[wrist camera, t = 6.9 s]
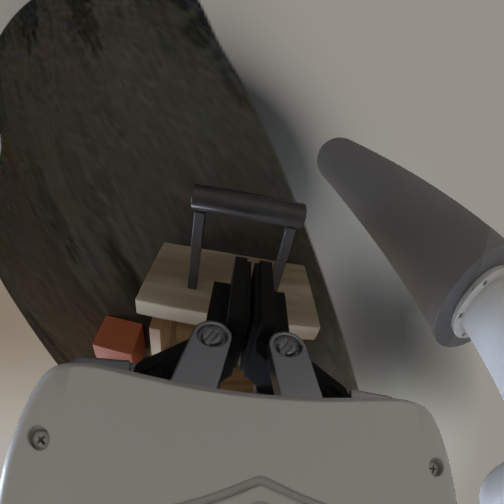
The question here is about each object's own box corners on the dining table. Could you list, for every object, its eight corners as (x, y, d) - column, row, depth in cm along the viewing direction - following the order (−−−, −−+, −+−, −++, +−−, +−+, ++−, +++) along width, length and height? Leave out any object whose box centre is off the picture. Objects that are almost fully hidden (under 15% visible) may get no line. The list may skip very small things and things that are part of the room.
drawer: (170, 158, 18) (131, 191, 12) (329, 188, 19) (363, 232, 13) (164, 348, 28) (150, 402, 22) (267, 364, 29) (269, 418, 23)
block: (106, 315, 27) (91, 344, 23) (142, 323, 27) (131, 354, 24) (112, 340, 29) (100, 368, 26) (145, 348, 30) (136, 378, 26)
